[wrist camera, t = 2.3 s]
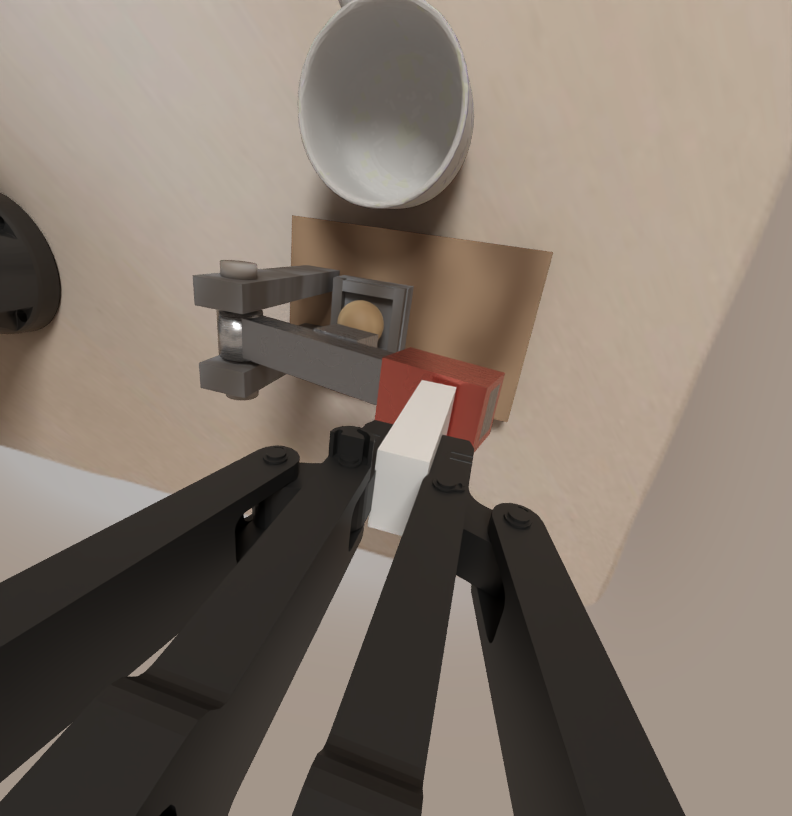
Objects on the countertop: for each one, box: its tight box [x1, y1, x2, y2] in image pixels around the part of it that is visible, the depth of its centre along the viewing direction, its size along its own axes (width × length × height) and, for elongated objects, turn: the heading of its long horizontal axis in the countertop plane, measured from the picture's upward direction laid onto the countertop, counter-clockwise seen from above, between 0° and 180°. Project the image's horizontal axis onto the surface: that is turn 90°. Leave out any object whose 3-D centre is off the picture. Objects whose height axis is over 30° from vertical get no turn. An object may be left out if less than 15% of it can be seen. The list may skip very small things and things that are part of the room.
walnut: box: [337, 300, 384, 339], centre depth 31 cm, size 4×4×4 cm
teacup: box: [298, 0, 474, 209], centre depth 27 cm, size 14×11×8 cm
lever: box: [216, 309, 505, 452], centre depth 22 cm, size 17×3×5 cm, turn 82°
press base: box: [193, 215, 553, 422], centre depth 29 cm, size 21×14×16 cm, turn 82°
